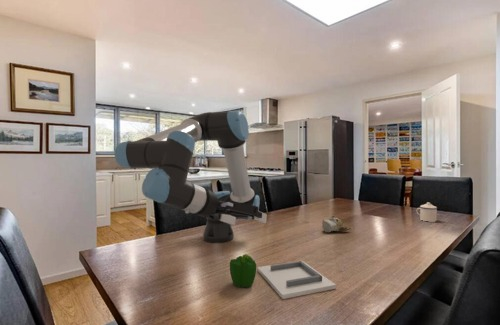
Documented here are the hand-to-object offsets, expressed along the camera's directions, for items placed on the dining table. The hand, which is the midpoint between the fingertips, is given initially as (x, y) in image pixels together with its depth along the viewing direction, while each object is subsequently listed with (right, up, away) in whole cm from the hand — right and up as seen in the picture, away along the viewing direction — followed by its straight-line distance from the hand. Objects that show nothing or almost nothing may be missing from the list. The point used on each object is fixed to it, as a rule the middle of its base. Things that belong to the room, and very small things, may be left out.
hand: (249, 220), depth 86 cm
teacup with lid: (+113, -18, +81) cm, 140 cm away
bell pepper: (-2, -20, -3) cm, 20 cm away
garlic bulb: (+46, -19, +57) cm, 76 cm away
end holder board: (+15, -20, +1) cm, 24 cm away
